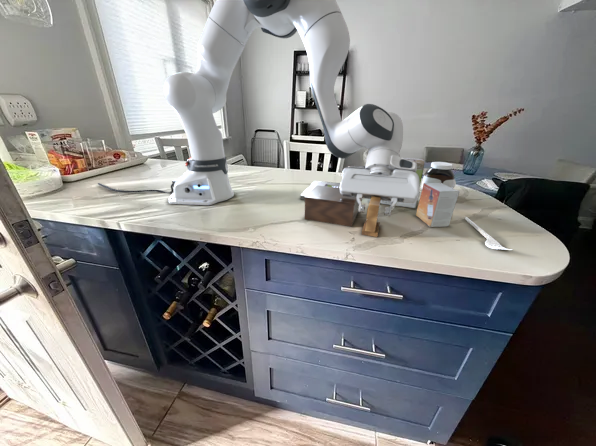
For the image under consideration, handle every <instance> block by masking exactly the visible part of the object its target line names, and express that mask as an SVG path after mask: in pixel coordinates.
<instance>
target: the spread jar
mask: <svg viewBox="0 0 596 446" xmlns="http://www.w3.org/2000/svg"><path fill="white" fill-rule="evenodd" d="M453 165H454V164H453V163H450V162H446V161H432V162H431V164H430V167H429V168H428V169H426V171H425V172H424V173H423V175H422V180H421V189H422V188H423V184H424V183H443V184H444V185H446V186H449V187H451V188H453V189H455V187H456V185H457V182H456V179H455V173H454V172H453V170H452V169H453Z"/></svg>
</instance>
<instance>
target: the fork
mask: <svg viewBox="0 0 596 446" xmlns="http://www.w3.org/2000/svg"><path fill="white" fill-rule="evenodd" d="M463 219H464V220H465V221H466V222H467V223H468V224H469V225H471V226H472V227H473V228H474V229H475V230H476V231H477V232H478V233H480V234H481V235H482V236H483V237H484V238H485V239H486V240H485V241H484V244H485V246H486V247H488V248H489V249H493V250H502V251H513V250H514V249H510V248H507V247H504V246H503V245H502V244H501V243H500V242H499V241H497V240H496V239H495V238H494V237H492V236H491V235H490V234H489V233H487V231H485V230H484V229H483V228H482V227H480V225H478V224H477V223H475V222H474V221H473V220H471V219H470V218H469V217H468V216H465V217H463Z"/></svg>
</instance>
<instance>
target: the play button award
mask: <svg viewBox="0 0 596 446" xmlns="http://www.w3.org/2000/svg"><path fill="white" fill-rule="evenodd" d="M340 184H341V182H336V181H335V182H334V181H333V182H332V181H324V180H323V181H321V180H313V181H312V182H311V183H310V185H309V186H308V187H307V188H306V189H304V190H303V192H302V193H301V194H300V200H304V201H305V199H304V197H305V196H306V195H307V194H308V193H309V192H310V191H311V190H312V189H313V188H315V187H316V186H317V185H319V186H328V187H336V188H340Z"/></svg>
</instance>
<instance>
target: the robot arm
mask: <svg viewBox="0 0 596 446" xmlns="http://www.w3.org/2000/svg"><path fill="white" fill-rule="evenodd" d="M257 29H261V31H262V32H263V33H265V34H267V35H271V36H273V37H275V38H279V39H289V38H291V37H293V36H295V34H296V33H297V32H298V34H299V36H300V39H301V41H302V44H303V45H304V49H305V51H306V55H307V59H308V64H309V65H308V66H309V77H308V78H309V85H310V90H311V93H312V96H313V99H314V103H315V106H316V109H317V112H318V116H319V119H320V121H321V125H322V128H323V132H324V138H325V139H324V140H325V144H326V147H327V150H328V151H329V153H331V154H332V155H333V156H335V157H336V158H339V159H342V160H343V159H344V160H345V159H348V158H349V157H351V156H353V155H354V154H355V153H357V152H359V151H360V150H362V149H364V148H365V149H367V150H368V152H367V155H366V160H365V165H353V164H349V166H345V167H344V168H343V169H342V172H341V177H342V178H341V181H340V183H341V184H340V188H339V189H340V193H341V194H342V196H348V197H356V198H357V203H358V205H359V209H358V213H363V214H364V213H365V210H366V204H363V203H362V201H363V199H366V200H370V199H371V197H372V196H379V197H381V200H384V201H391V205H389V206H385V207H384V216H385V217H391V214H392V211H393V210H394V209H395V207H396V204H397V202H402V203H411V204H414V203H415V202H416V201H418V200H419V199H420V194H421V184H420V182H419V176H418V174H417V173H416V170H417V163H415V162H413V161H410V160H407V159H404V158H405V157H403V158H401V157H402V156H401V153H400V151H401V149H402V148H403V141H404V125H403V120H402V118H401V116H400V115H398V114H397V113H395V112H392V111H387V110H385V109H384V108H382V107H381V106H379V105H376V104H373V103H365V104H363V105H362V106H360V107H359V108H357V109H355V111H353V112H352V113H351V114H350V115H348V116H347V117H345V118H344V119H342V117H341V114H340V110H339V106H338V103H337V100H336V95H335V86H336V82H337V78H338V75H339V73H340V71H341V69H342V67H343V66H344V63H345V62H346V60H347V58H348V53H349V50H350V45H351V36H350V31H349V28H348V25H347V23H346V20H345V18H344V15H343V13H342V11H341V8H340V6H339V4H338V3H337V1H336V0H215V1H214V3H213V5H212V8H211V9H210V12H209V13H208V17H207V19H206V21H205V24H204V26H203V29H202V31H201V33H200V36H199V38H198V41H197V43H196V51H197V62H196V69H195V71H194V73H192V72H189V71H180V72H175V73H172V74H170V75H168V76H167V77H166V78H165V80H164V82H163V87H162V88H163V90H162V91H163V96H164V98H165V100H166V103H167V105H169V106H170V108H172V109H173V110H174V112H175V113H176V114H177V117H178V118H179V121H180V123H181V125H182V127H183V130H184V132H185V135H186V138H187V145H188V147H189V154H190V157H188V159H187V160H186V161H185V163H184V164H185V167H186V168H187V170H186V171H185V172H183V174H182V175H180V176H179V177H178V178H176V179H174V180H171V184H170V190H171V191H169V192H168V191H163V190H161V189H140V190H138V189H137V190H125V189H124V190H123V189H115V188H111V187H109V186H107V185H105V184H103V183H101V182H97V185H99V186H100V187H102V188H104V189H108V190H110V191H112V192H118V193H149V192H158V193H161V194H170V196H168V198H167V200H168V204H170V205H189V206H190V205H191V206H195V205H196V206H212V205H215V204H217V203H221V202H224V201H227V200H230V199H232V198H233V197H234V196H235V193H234V190H233V188H232V185H231V181H230V178H229V166H228V160H227V156H226V154H225V146H224V140H223V138H224V137H223V134H222V131H221V130H220V129H219V127H218V124H217V123H216V120H215V117H214V114H215V113H217V112H219V111H221V110H222V109H223V108H224V107H225V106H226V103H227V93H228V90H229V85H230V83H231V78H232V75H233V72H234V70H235V69H236V66H237V64H238V62H239V60H240V58H241V55H242V53H243V51H244V49H245V47H246V46H247V43H248V41H249V39H250V37H251V35H252V33H253V32H254V31H255V30H257Z"/></svg>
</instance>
